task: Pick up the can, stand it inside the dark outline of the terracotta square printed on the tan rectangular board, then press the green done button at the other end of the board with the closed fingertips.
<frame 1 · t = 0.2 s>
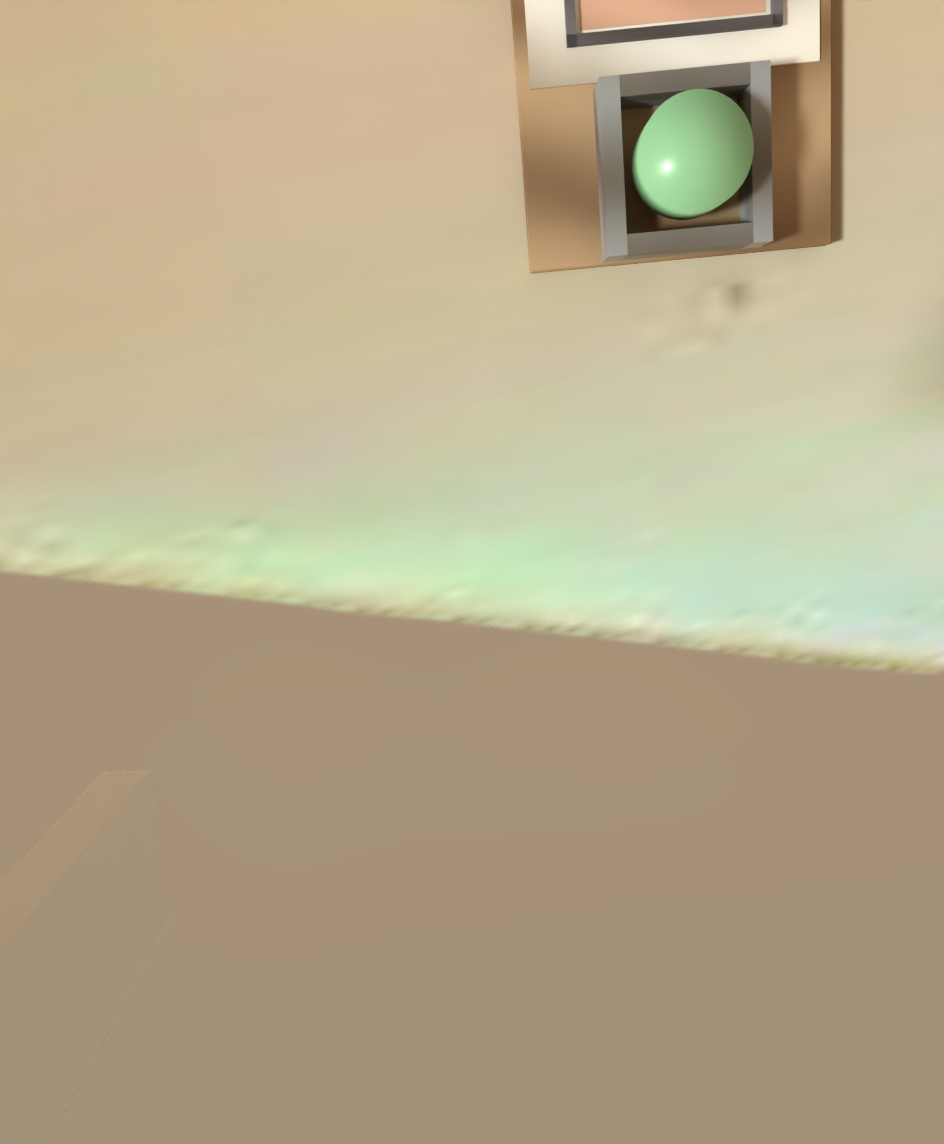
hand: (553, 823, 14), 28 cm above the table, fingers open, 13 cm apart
done button: (690, 157, 35), point 3 cm above the table, slide at 0.0 cm
tan rectangular board: (668, 35, 36), on the table
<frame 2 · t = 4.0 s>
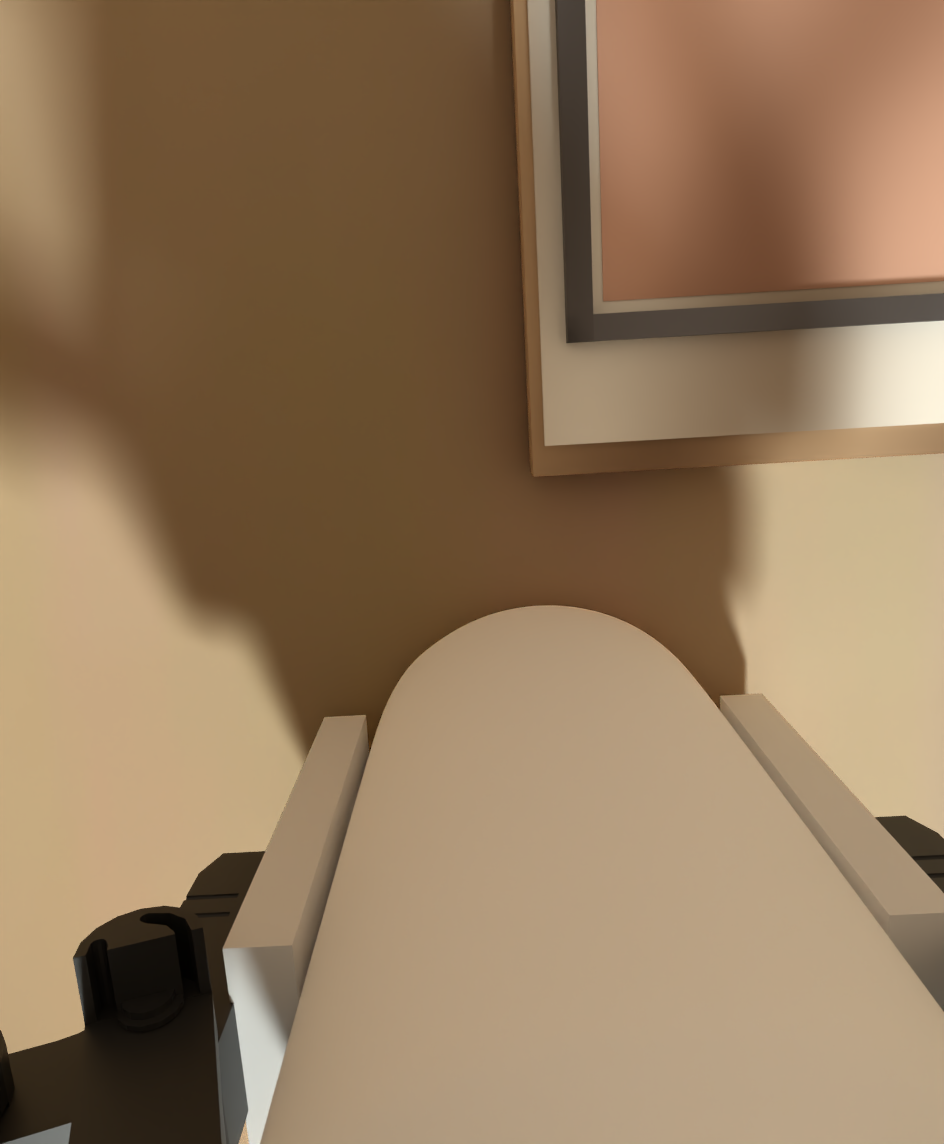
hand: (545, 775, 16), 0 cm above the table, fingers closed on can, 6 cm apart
can: (542, 759, 16), on the table, touching gripper
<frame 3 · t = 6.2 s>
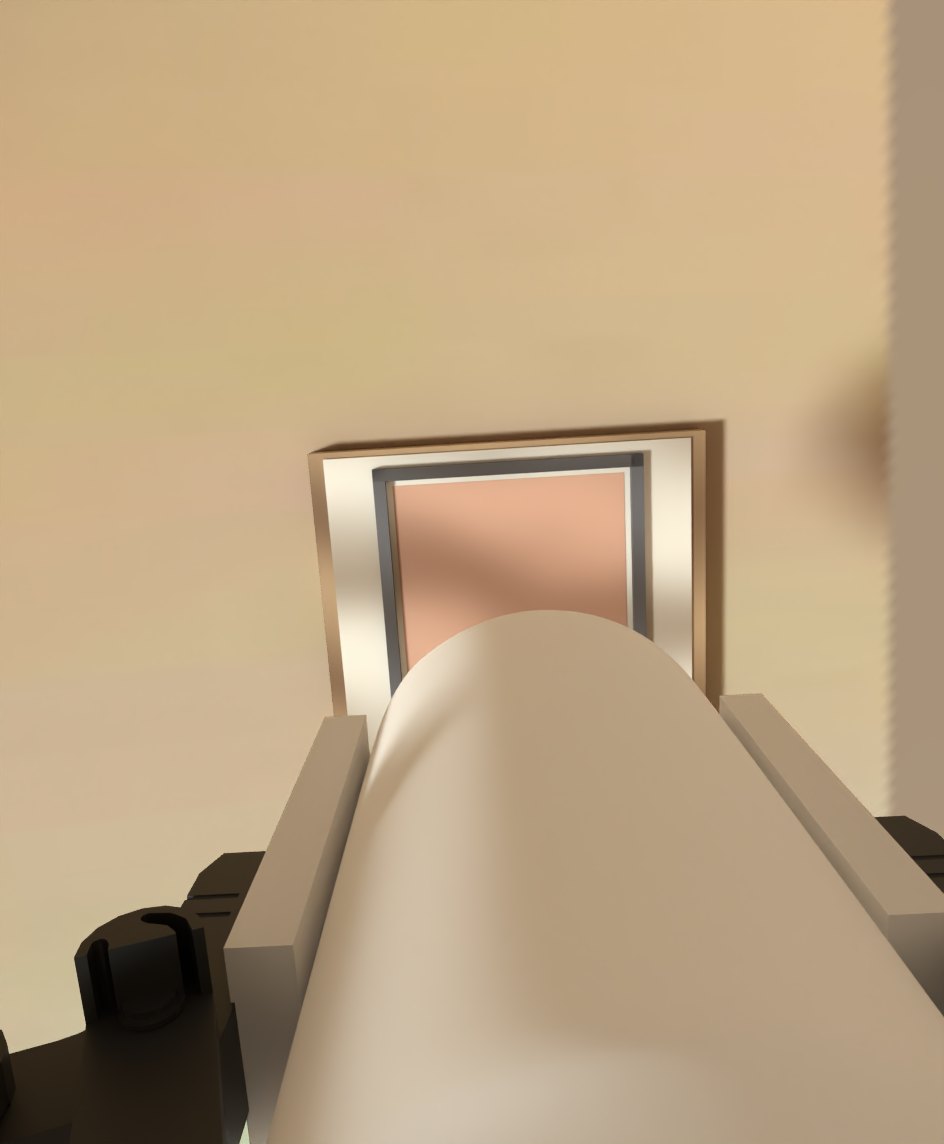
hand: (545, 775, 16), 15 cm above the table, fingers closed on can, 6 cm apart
tan rectangular board: (517, 693, 31), on the table
can: (542, 763, 16), point 14 cm above the table, touching gripper
when the fingers open (2 cm above the table, at t = 8.8 s): can stays where it is, resting on tan rectangular board.
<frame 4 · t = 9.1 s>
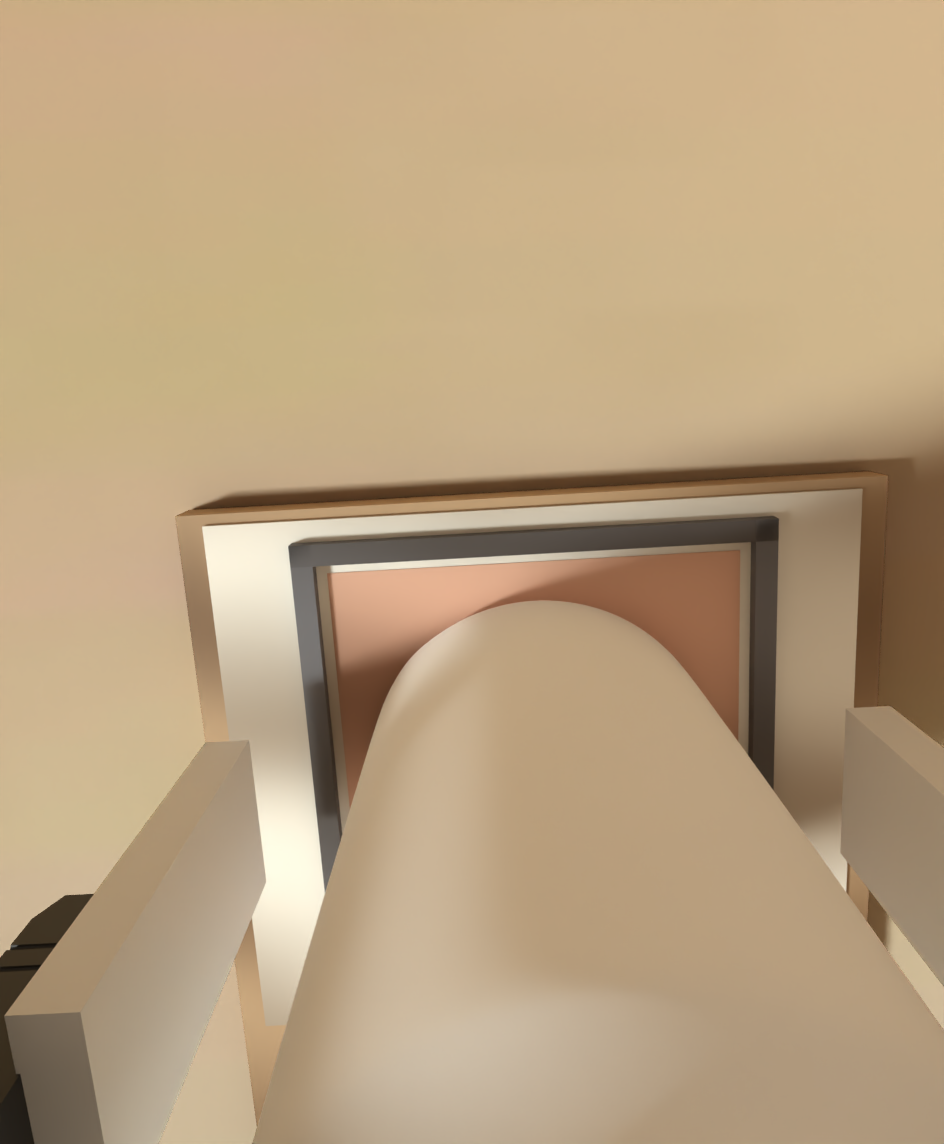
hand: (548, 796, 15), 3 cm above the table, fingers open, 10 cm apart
tan rectangular board: (545, 909, 19), on the table
can: (539, 750, 17), point 1 cm above the table, touching tan rectangular board
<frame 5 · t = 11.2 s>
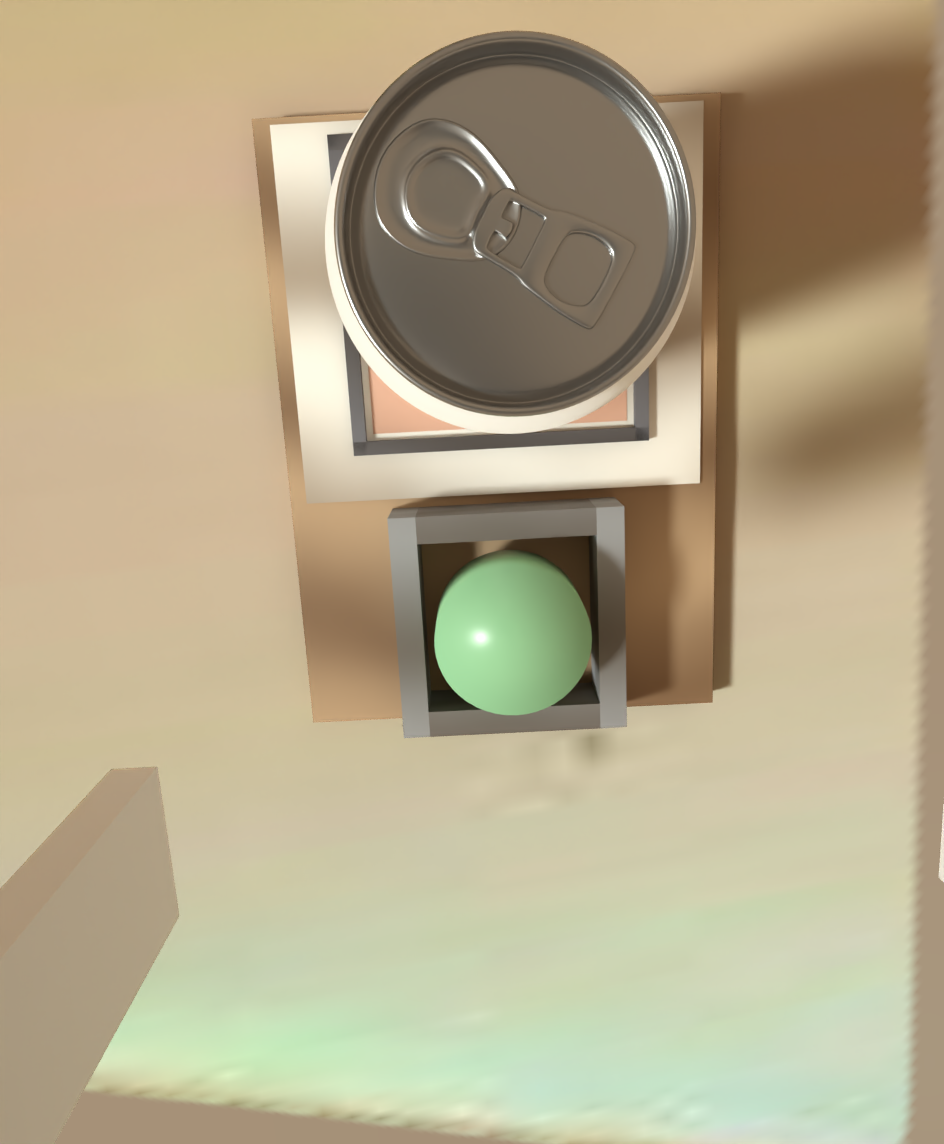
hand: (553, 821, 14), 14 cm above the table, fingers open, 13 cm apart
done button: (511, 631, 25), point 3 cm above the table, slide at 0.0 cm
tan rectangular board: (499, 431, 27), on the table
can: (493, 295, 25), point 1 cm above the table, touching tan rectangular board
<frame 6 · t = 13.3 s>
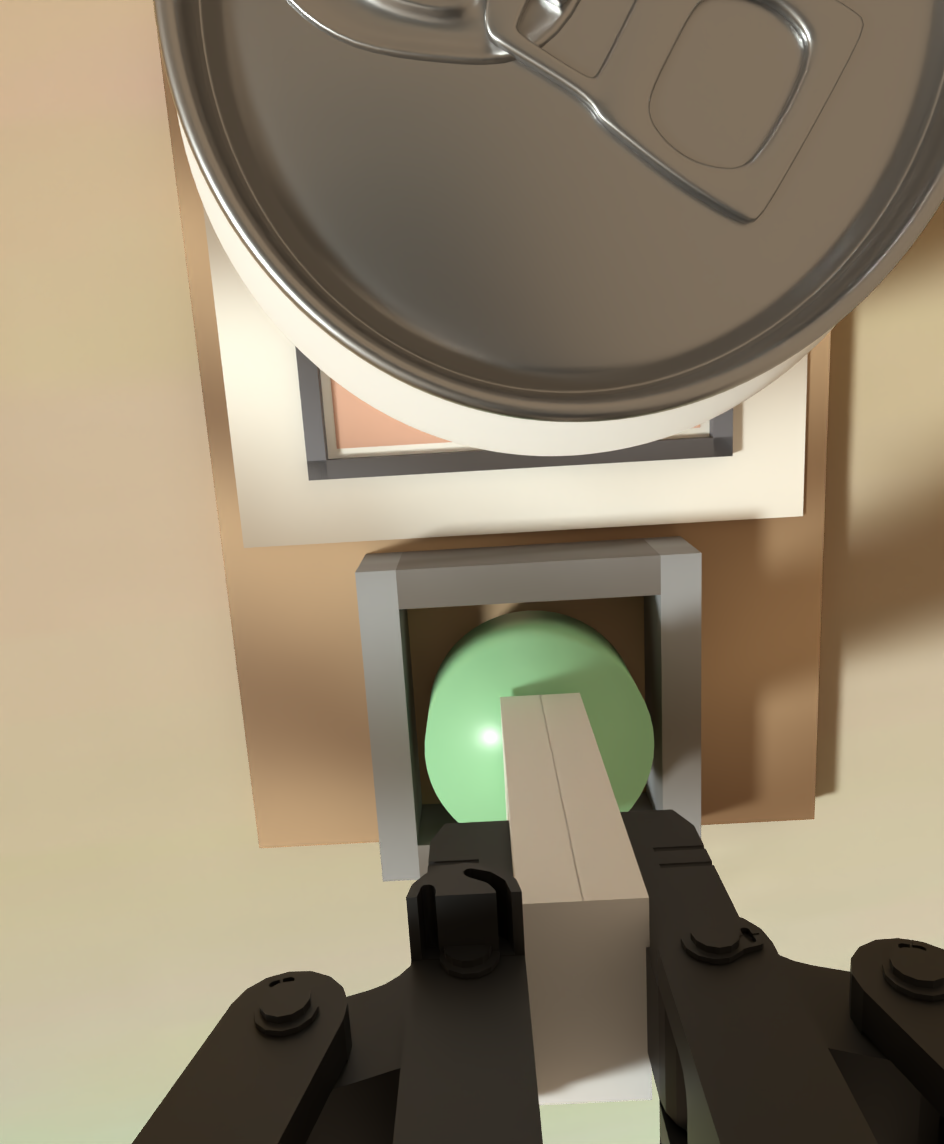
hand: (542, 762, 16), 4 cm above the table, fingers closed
done button: (535, 728, 18), point 3 cm above the table, slide at 0.3 cm, touching gripper
tan rectangular board: (516, 444, 19), on the table
can: (507, 248, 17), point 1 cm above the table, touching tan rectangular board
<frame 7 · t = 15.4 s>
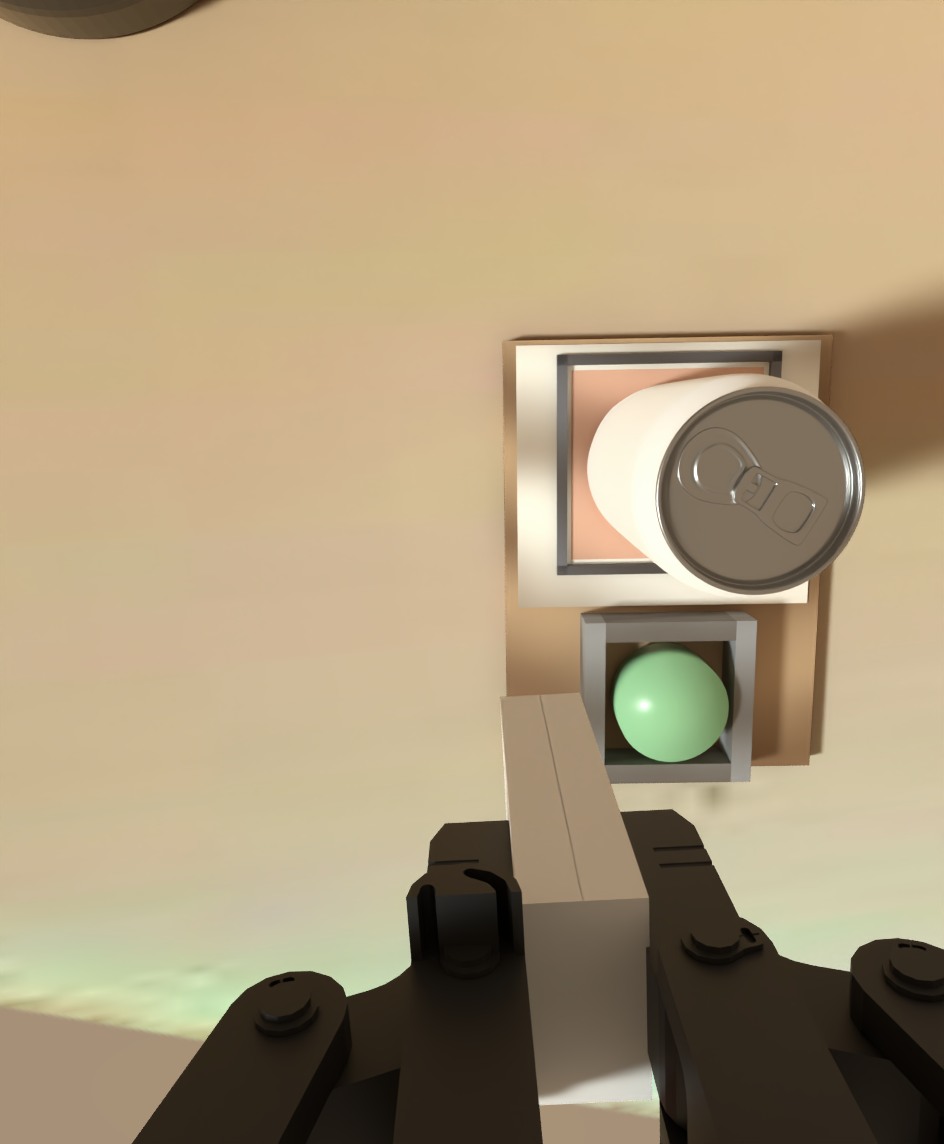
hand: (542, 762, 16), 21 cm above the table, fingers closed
done button: (667, 701, 35), point 2 cm above the table, slide at 0.8 cm
tan rectangular board: (658, 559, 37), on the table
can: (664, 465, 35), point 1 cm above the table, touching tan rectangular board
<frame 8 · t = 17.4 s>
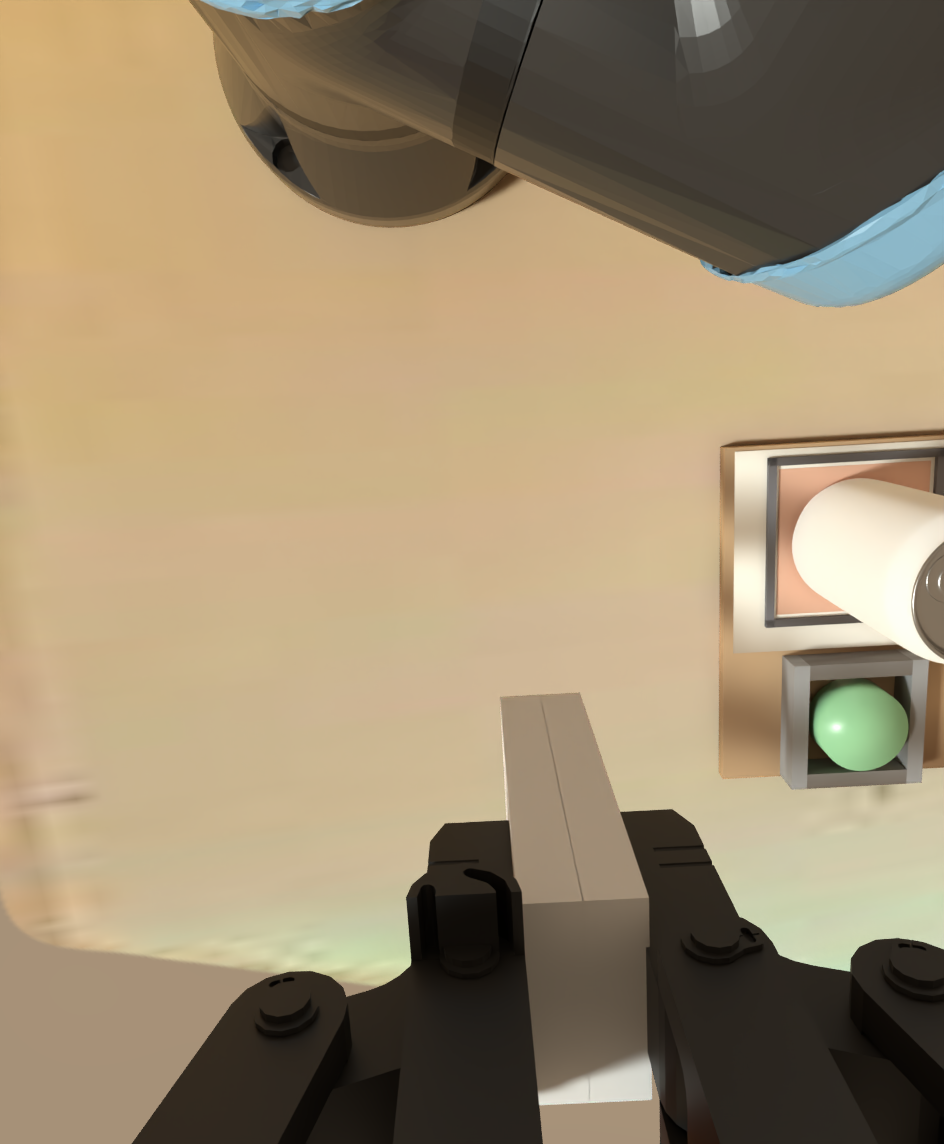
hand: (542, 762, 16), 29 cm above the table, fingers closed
done button: (856, 723, 45), point 2 cm above the table, slide at 0.8 cm
tan rectangular board: (841, 609, 46), on the table
can: (850, 538, 45), point 1 cm above the table, touching tan rectangular board
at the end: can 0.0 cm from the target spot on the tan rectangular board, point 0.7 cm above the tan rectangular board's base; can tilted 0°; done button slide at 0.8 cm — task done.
